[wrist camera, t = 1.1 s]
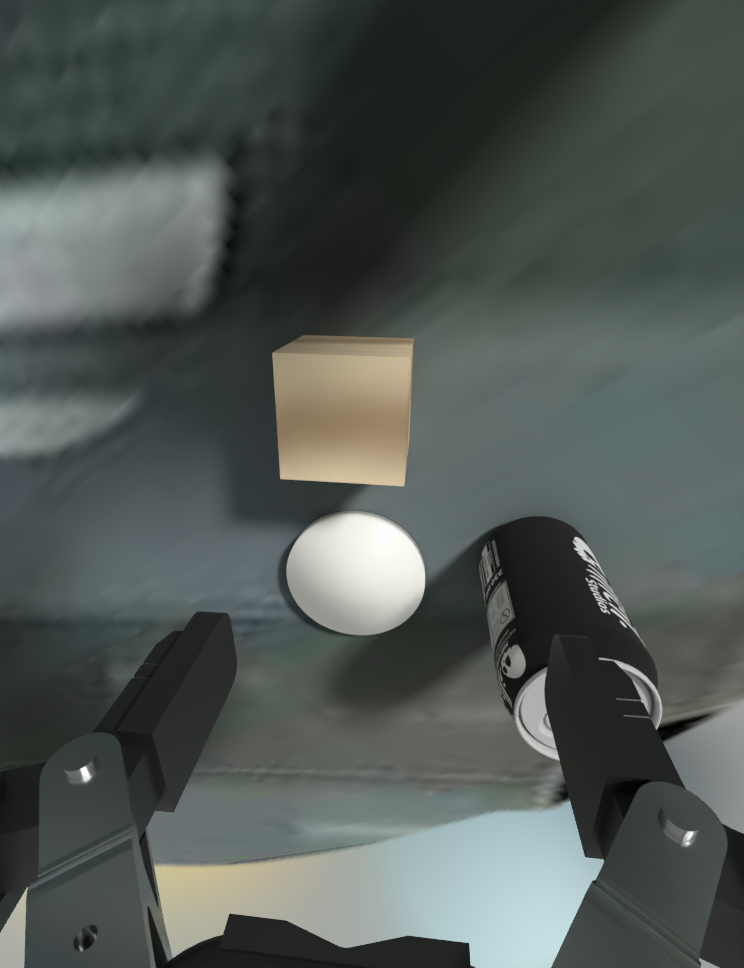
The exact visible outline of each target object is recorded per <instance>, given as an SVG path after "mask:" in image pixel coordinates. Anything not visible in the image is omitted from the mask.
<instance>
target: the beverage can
mask: <svg viewBox="0 0 744 968" xmlns="http://www.w3.org/2000/svg"><path fill="white" fill-rule="evenodd" d="M479 571H480V577H481V583H482V589H483V595H484V601H485V607H486V613H487V620H488V626H489V632H490V638H491V644H492V650H493V656H494V662H495V668H496V674H497V680H498V686H499V692H500V696H501V699H502V702H503V704H504V706H505V708H506V710H507V711H508V712H509V714H510V715H511V716H512V718H513V719H514V720H515V723H516V726H517V729H518V731H519V733H520V735H521V736H522V738H523V739H524V740H525V741H526V742H527V743H528V744H529V745H530V746H531V747H532V748H534V749H535V750H536V751H538V752H540V753H541V754H543V755H545V756H548V757H550V758H553V759H556V760H559V756H558V752H557V748H556V745H555V741H554V737H553V733H552V729H551V726H550V722H549V718H548V714H547V710H546V705H545V694H544V687H545V678H546V673H547V667H548V661H549V656H550V650H551V644H552V639H553V637H554V635H555V634H559V635H576V636H588V637H589V638H590V639H591V641H592V643H593V646H594V648H595V650H596V653H597V655H598V657H599V660H610V661H614V662H615V663H616V664H617V665H618V666H619V667H620V668H621V669H622V670H623V671H624V672H625V673H626V674H627V675H628V676H629V677H630V678H631V679H632V681H633V683H634V685H635V687H636V689H637V691H638V693H639V695H640V697H641V702H642V703H644V705H645V707H646V709H647V711H648V713H649V718H650V720H652V722H653V724H654V726H655V728H656V730H657V728H658V726H659V723H660V720H661V717H662V705H661V699H660V696H659V694H658V692H657V687H658V677H657V670H656V667H655V664H654V662H653V660H652V658H651V656H650V654H649V652H648V651H647V649H646V647H645V645H644V644H643V642H642V640H641V638H640V636H639V635H638V633H637V631H636V629H635V628H634V626H633V624H632V622H631V621H630V619H629V617H628V615H627V614H626V612H625V610H624V608H623V606H622V605H621V603H620V601H619V599H618V598H617V596H616V594H615V592H614V591H613V589H612V587H611V585H610V584H609V582H608V580H607V578H606V576H605V575H604V573H603V571H602V569H601V568H600V566H599V564H598V562H597V561H596V559H595V557H594V555H593V554H592V552H591V550H590V548H589V546H588V545H587V543H586V541H585V540H584V538H583V537H582V535H581V534H580V533H579V532H578V531H577V530H576V529H574V528H573V527H572V526H570V525H568V524H567V523H565V522H563V521H560V520H557V519H554V518H550V517H539V516H534V517H526V518H521V519H518V520H515V521H512V522H510V523H508V524H506V525H504V526H502V527H501V528H500V529H498V530H497V531H496V532H495V533H494V534H493V535H492V536H491V537H490V538H489V539H488V541H487V542H486V543H485V545H484V547H483V549H482V552H481V555H480V560H479ZM559 761H560V760H559Z"/></svg>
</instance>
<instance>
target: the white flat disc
mask: <svg viewBox="0 0 744 968" xmlns="http://www.w3.org/2000/svg"><path fill="white" fill-rule="evenodd" d="M286 575H287V582H288V586H289V589H290V592H291V594H292V596H293V598H294V599H295V601H296V603H297V604H298V605H299V607H300V608H301V609H302V610H303V611H304V612H305V613H306V614H307V615H308V616H309V617H310V618H312V619H313V620H314V621H316V622H318V623H319V624H321V625H323V626H325V627H327V628H329V629H331V630H334V631H337V632H341V633H345V634H351V635H373V634H378V633H382V632H385V631H388V630H391V629H393V628H395V627H397V626H399V625H400V624H402V623H403V622H405V621H406V620H407V619H408V618H409V617H410V616H411V615H412V614H413V613H414V612H415V610H416V609H417V608H418V606H419V604H420V602H421V600H422V597H423V594H424V588H425V565H424V560H423V557H422V554H421V552H420V550H419V547H418V546H417V544H416V543H415V541H414V540H413V538H412V537H411V536H410V535H409V534H408V533H407V532H406V531H405V530H404V529H403V528H402V527H400V526H399V525H397V524H396V523H394V522H393V521H391V520H389V519H387V518H385V517H383V516H380V515H377V514H374V513H370V512H364V511H340V512H335V513H331V514H328V515H326V516H323V517H321V518H319V519H317V520H315V521H314V522H312V523H311V524H310V525H308V526H307V527H306V528H305V529H304V530H303V531H302V532H301V534H300V535H299V537H298V538H297V540H296V542H295V544H294V546H293V548H292V550H291V552H290V555H289V558H288V561H287V568H286Z"/></svg>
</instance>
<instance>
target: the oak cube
mask: <svg viewBox="0 0 744 968" xmlns="http://www.w3.org/2000/svg"><path fill="white" fill-rule="evenodd" d="M413 347H414V338H382V337H350V336H319V335H303V336H301V337H299V338H297V339H296V340H294V341H292V342H290V343H289V344H287V345H285V346H283V347H282V348H280V349H278V350H276V351H274V352H273V353H272V357H273V373H274V388H275V404H276V419H277V435H278V450H279V466H280V479H289V480H306V481H323V482H340V483H358V484H375V485H392V486H404V482H405V473H406V464H407V455H408V446H409V428H410V407H411V387H412V367H413Z"/></svg>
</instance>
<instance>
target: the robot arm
mask: <svg viewBox="0 0 744 968" xmlns="http://www.w3.org/2000/svg"><path fill="white" fill-rule="evenodd" d="M236 669H237V658H236V652H235V645H234V639H233V633H232V626H231V620H230V617H229V615H228V614H227V613H216V612H200V611H199V612H196V613H195V614H194V616H193V617H192V618H191V620H190V621H189V623H188V624H187V626H186V627H185V629H184V630H183V631H173V632H172V633H171V634H169V635H168V636H167V637H165V638H164V639H163V640H161V641H160V642H159V643H158V644H156V645H155V647H154V648H153V650H152V651H151V652H150V654H149V655H148V656H147V658H146V659H145V661H144V664H143V665H141V666H140V668H139V669H138V670H137V672H136V673H135V675H134V678H133V679H131V680H130V682H129V683H128V684H127V686H126V687H125V689H124V690H123V691H122V693H121V694H120V696H119V697H118V698H117V700H116V701H115V703H114V704H113V705H112V707H111V708H110V710H109V711H108V712H107V714H106V715H105V717H104V718H103V719H102V721H101V722H100V724H99V725H98V726H97V728H96V729H95V730H94V732H93V733H90V734H86V735H83V736H80V737H78V738H76V739H73V740H72V741H70V742H68V743H67V744H65V745H64V746H62V747H61V748H60V749H59V750H57V751H56V752H55V753H54V754H53V755H52V756H51V757H50V759H49V760H48V761H47V762H45V763H41V764H36V765H32V766H27V767H22V768H17V769H12V770H7V771H3V772H0V932H1V930H2V929H3V927H4V925H5V924H6V922H7V920H8V918H9V917H10V915H11V913H12V912H13V910H14V908H15V907H16V904H17V903H18V902H19V900H20V898H21V897H22V895H23V893H24V891H25V890H26V888H27V887H28V890H27V899H26V929H25V962H24V968H475V967H473V966H471V965H470V952H469V943H462V942H453V941H446V940H438V939H430V938H422V937H413V936H405V937H400V938H395V939H390V940H385V941H380V942H375V943H371V944H365V945H361V946H356V947H351V948H343V947H339V946H337V945H335V944H333V943H331V942H329V941H327V940H324V939H322V938H320V937H318V936H316V935H314V934H312V933H310V932H308V931H306V930H304V929H302V928H300V927H298V926H296V925H294V924H292V923H290V922H288V921H284V920H276V919H268V918H260V917H252V916H244V915H236V914H229V917H228V921H227V924H226V927H225V930H224V934H223V935H221V936H217V937H213V938H211V939H208V940H205V941H202V942H200V943H198V944H196V945H194V946H192V947H190V948H188V949H187V950H185V951H183V952H182V953H180V954H179V955H177V956H176V957H174V958H173V957H172V953H171V948H170V944H169V940H168V937H167V932H166V928H165V924H164V919H163V914H162V908H161V904H160V897H159V892H158V887H157V881H156V875H155V870H154V864H153V859H152V853H151V848H150V842H149V837H148V832H147V829H146V827H147V825H148V823H149V821H150V819H151V817H152V815H153V813H154V811H155V810H156V811H165V812H174V810H175V808H176V806H177V804H178V801H179V799H180V797H181V795H182V793H183V791H184V789H185V786H186V784H187V782H188V780H189V778H190V776H191V773H192V771H193V769H194V767H195V765H196V763H197V761H198V758H199V756H200V754H201V752H202V750H203V748H204V746H205V743H206V741H207V739H208V737H209V735H210V733H211V731H212V728H213V726H214V724H215V722H216V720H217V718H218V715H219V713H220V711H221V709H222V707H223V705H224V703H225V700H226V698H227V696H228V694H229V692H230V690H231V688H232V685H233V683H234V679H235V675H236ZM544 694H545V705H546V710H547V714H548V718H549V722H550V726H551V729H552V733H553V737H554V741H555V745H556V748H557V752H558V756H559V760H560V763H561V767H562V771H563V775H564V779H565V782H566V786H567V790H568V794H569V798H570V801H571V805H572V809H573V813H574V817H575V820H576V824H577V828H578V831H579V836H580V839H581V843H582V847H583V851H584V854H585V857H588V858H598V859H604V864H603V866H602V868H601V871H600V873H599V875H598V877H597V879H596V880H595V881H593V882H592V883H591V885H590V886H589V888H588V890H587V892H586V894H585V897H584V899H583V901H582V903H581V905H580V907H579V909H578V912H577V914H576V916H575V918H574V920H573V922H572V924H571V927H570V929H569V931H568V933H567V935H566V937H565V939H564V942H563V944H562V946H561V948H560V950H559V952H558V954H557V957H556V959H555V961H554V963H553V965H552V967H551V968H701V963H700V961H699V958H701V959H703V960H705V961H707V962H709V963H712V964H713V965H716V966H718V967H720V968H744V834H743V833H740V832H738V831H736V830H733V829H731V828H729V827H728V826H725V825H724V824H722V823H721V821H720V820H719V818H718V817H717V815H716V814H715V813H714V812H713V810H712V809H711V808H710V807H709V806H708V805H707V804H706V803H705V802H704V801H702V800H701V799H700V798H699V797H697V796H696V795H694V794H693V793H691V792H690V791H688V790H686V788H685V787H684V785H683V783H682V781H681V779H680V777H679V775H678V773H677V771H676V769H675V767H674V765H673V763H672V760H671V758H670V757H669V754H668V753H667V750H666V748H665V746H664V744H663V742H662V740H661V738H660V736H659V734H658V732H657V730H656V728H655V726H654V724H653V722H652V720H650V718H649V713H648V711H647V709H646V707H645V705H644V703H642V702H641V697H640V695H639V693H638V691H637V689H636V687H635V685H634V683H633V681H632V679H631V678H630V677H629V676H628V675H627V674H626V673H625V672H624V671H623V670H622V669H621V668H620V667H619V666H618V665H617V664H616V663H615V662H614V661H610V660H599V657H598V655H597V653H596V650H595V648H594V646H593V643H592V641H591V639H590V638H589V637H588V636H576V635H559V634H555V635H554V637H553V639H552V644H551V650H550V656H549V661H548V667H547V673H546V678H545V687H544Z"/></svg>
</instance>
